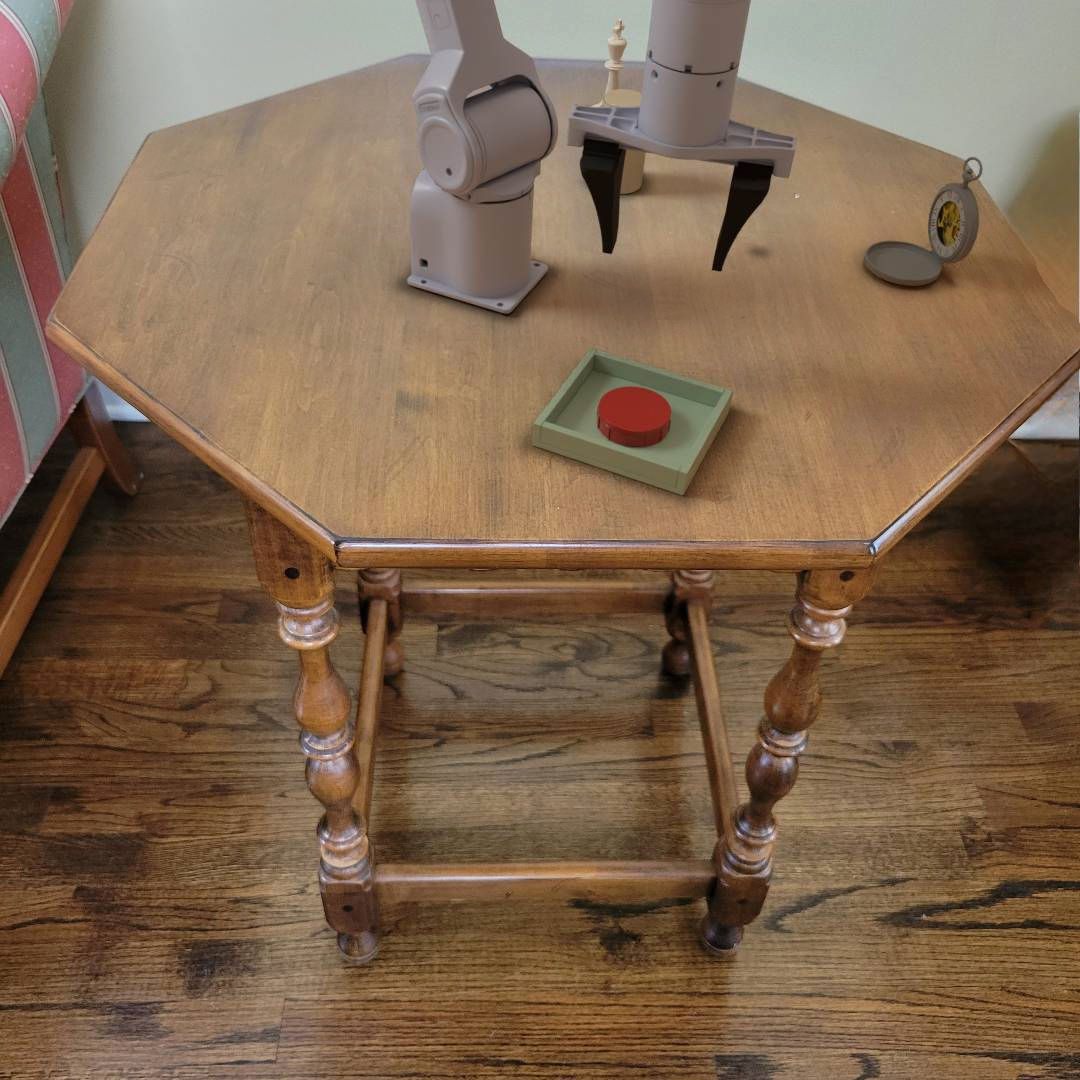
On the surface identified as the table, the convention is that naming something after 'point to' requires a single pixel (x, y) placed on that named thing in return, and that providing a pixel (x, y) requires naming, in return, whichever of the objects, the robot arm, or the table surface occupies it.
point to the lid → (633, 416)
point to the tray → (661, 464)
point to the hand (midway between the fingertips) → (663, 255)
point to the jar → (632, 158)
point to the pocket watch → (932, 238)
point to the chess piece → (615, 58)
